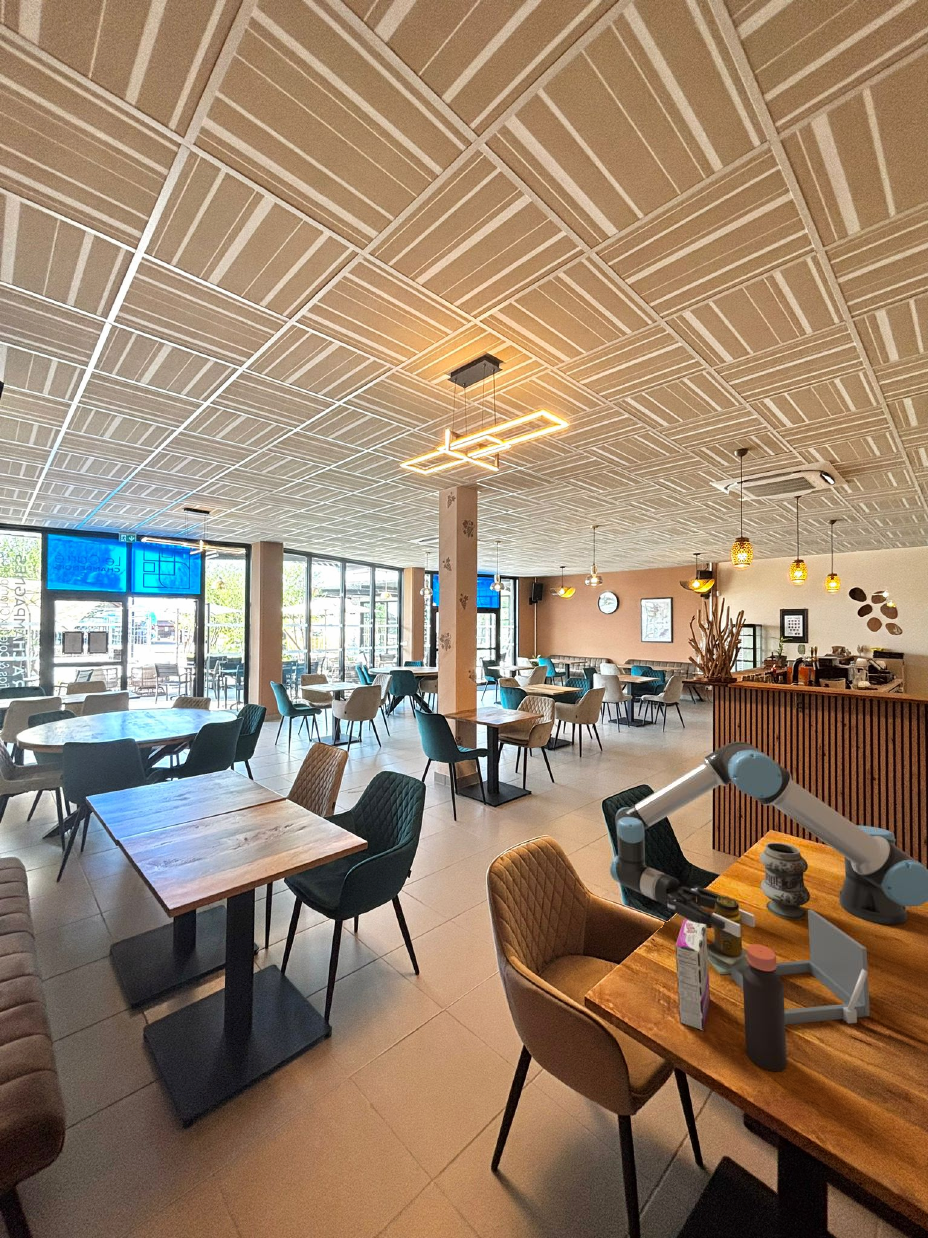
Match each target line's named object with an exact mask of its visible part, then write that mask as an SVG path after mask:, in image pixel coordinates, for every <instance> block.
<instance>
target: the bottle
mask: <svg viewBox="0 0 928 1238" xmlns="http://www.w3.org/2000/svg"><path fill="white" fill-rule="evenodd" d="M746 950H747V954H746V955H747V961H748V964H749V966H748V967H747V968H745V969H744V971H743V973H742V975H743V989H742V993H743V995H742V997H743V1012H744V1013H743V1015H744V1016H743V1018H744V1034H745V1035H744V1039H745V1052H746V1054H747V1057H748V1058H749V1059H750V1060H751V1061H752V1063H754V1064H756V1066H758V1067H760V1068H762V1069H763V1070H766V1071H769V1072H779V1071H783V1070H784V1069H785V1068H786V1067H787V1063H788V1061H787V1060H788V1059H787V1058H788V1057H787V1038H786V1034H787V1033H786V1025H785V1012H784V1010H785V998H784V997H785V996H784V984H783V980H782V979H781V977H780V975H777V974H776V973H775V972H776V967H777V965H776V963H777V954H776V952H775V951H774V950H773V949H772V948H769V947H768V946H765V945H763V944H757V943H753V944H748V945H747V946H746Z"/></svg>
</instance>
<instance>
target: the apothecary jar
mask: <svg viewBox="0 0 928 1238" xmlns="http://www.w3.org/2000/svg"><path fill="white" fill-rule="evenodd" d="M759 860H760V862H761V864H762V865H763V866H764V872H765V873H764V876H765V877H764V879H763V880H762V881H761V882H760V890H761V891H762V893H763V894H764V895H765V897H766V898H768V899H769V901H767V903H766V905H765V907H766V909H767V911H768V912H770V913H771V914H772V915H774V916H777V917H779V918H782V919H785V920H789V921H790V920H791V921H800V920H801V921H802V920H803V919H804V920H805V919H806V917H808V912H806V910H805V909H804V908H803V907H801V906H804V905H805V904H807V903H808V902H809V901H810V900H811V894H810V891H809V889H808V888H807V887H806V886H805V882H804V881H805V880H804V873H806V872H807V870H808V868H809V865H808V862H807V860H806V859H805V858H804V857H803V856H802V855H801V851H800V849H799V848H798V847H797V846H795V845H791V844H788V843H785V842H778V841H777V842H776V841H775V842H768V843H766V844H765V849H763V850H762V852H761V853H760V854H759Z"/></svg>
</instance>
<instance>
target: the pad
mask: <svg viewBox="0 0 928 1238" xmlns="http://www.w3.org/2000/svg"><path fill="white" fill-rule="evenodd" d="M707 955H708V963H710V964H711V965H712V967H713V968H714V969H715V970H716V971H717V972H718V973H719V975H729V974H730V975H731V967H737V966H748V965H749V964H748V961H747V954H746V955H745V956H743V957H742V958H740V959H739V960H737V961H735V962H734V963H733V964H731V965H730V964H728V963H727V962H724V961H723V960H721V959H718V958H717V957H715V956H714V955H712V954H710V953H708V952H707Z"/></svg>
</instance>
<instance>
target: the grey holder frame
mask: <svg viewBox="0 0 928 1238" xmlns="http://www.w3.org/2000/svg"><path fill="white" fill-rule="evenodd" d="M807 917H808V921H807V923H808V939H809V957H810V959H804V960H803V959H802V960H794V961H783V962H781V961H780V962H776V965H777V967H776V972H775V973H776V974H777V975H778V976H785V975H787V976H788V975H797V974H807V973H809V974H811V975H812V976H813V977H814V978H816V979H817V980H818V981H819V982H820V983H821V984H822V985H824V987H826V988H827V989H828V990H829V991H830V992H831V993H833V994H834V995H835V996H836V997H837V998H838V999H839V1000H841V1001H842V1003H843V1004H831V1005H821V1006H811V1007H810V1006H809V1007H801V1008H791V1009H784V1012H785V1026H787V1025H793V1024H795V1025H796V1024H804V1023H814V1022H823V1021H835V1020H843V1021H844V1022H846V1023H847V1024H857V1023H858V1018H862V1017H870V1016H871V1011H870V1009H871V1008H870V995H869V992H870V991H869V971H868V953H867V950H868V949H867V947H865V946H864V945H862V944H861V943H859V942H858V941H856V939H854V938H852V937H851V936H850V935H848V934H847V933H845V931H843V930H841V929H840V928H838V926H836V925H834V924H833V923H831V922H830V921H828V920H827V919H826V918H825V917H823V916H821V915H820V914H819V913H817V912H816V911H814V910H813V909H807ZM748 966H749V965H748ZM748 966H737V967H731V974H730V977H731V978H732V979H733V981H734V982H735V983H736V984H737V985H738V986H739V987H740V988H741V990H743V975H742V973H743V971H744V969H745V968H747V967H748Z"/></svg>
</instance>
